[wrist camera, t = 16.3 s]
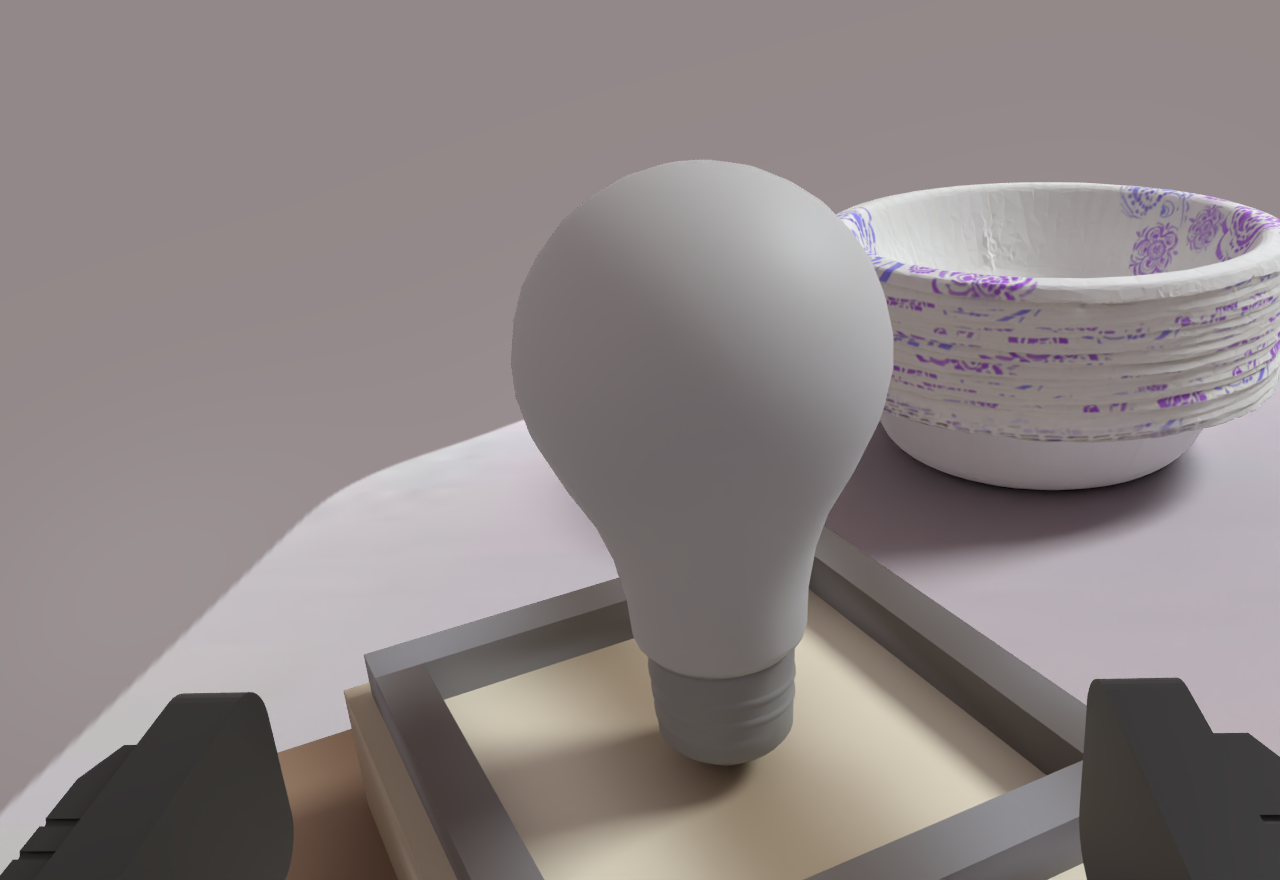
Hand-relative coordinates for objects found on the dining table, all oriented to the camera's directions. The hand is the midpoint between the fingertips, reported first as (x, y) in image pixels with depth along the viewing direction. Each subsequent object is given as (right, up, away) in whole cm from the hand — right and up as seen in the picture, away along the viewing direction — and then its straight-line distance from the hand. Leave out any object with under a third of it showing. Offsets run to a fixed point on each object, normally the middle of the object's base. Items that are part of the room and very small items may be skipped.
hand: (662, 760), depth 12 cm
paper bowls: (+14, +3, +31) cm, 34 cm away
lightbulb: (+1, -3, +11) cm, 11 cm away
